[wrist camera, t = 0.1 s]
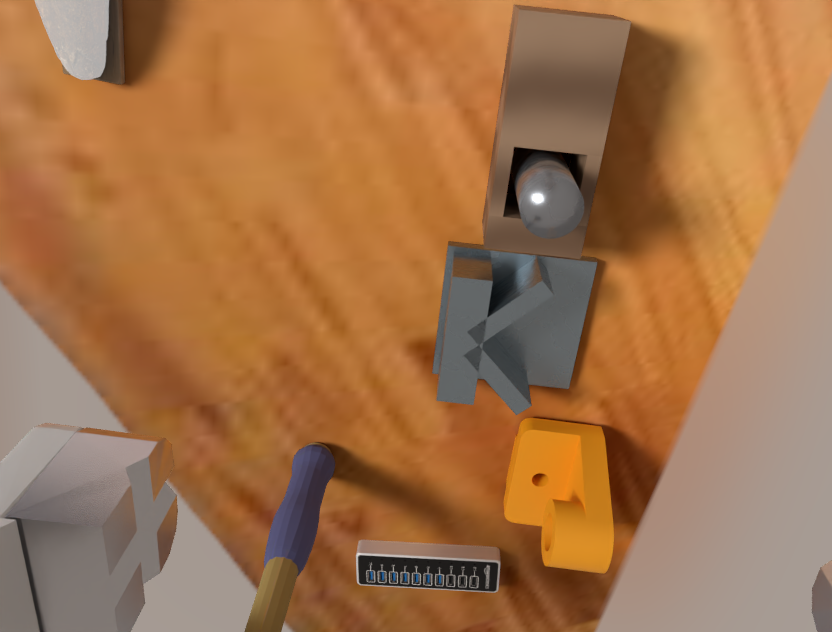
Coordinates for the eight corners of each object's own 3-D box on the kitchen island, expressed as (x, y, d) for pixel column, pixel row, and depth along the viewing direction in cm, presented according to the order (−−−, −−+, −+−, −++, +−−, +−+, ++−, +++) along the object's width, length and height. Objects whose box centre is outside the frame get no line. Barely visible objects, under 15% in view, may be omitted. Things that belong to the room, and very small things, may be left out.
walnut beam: (513, 4, 50) (519, 9, 44) (613, 15, 50) (631, 21, 44) (482, 221, 57) (484, 248, 52) (569, 231, 57) (580, 259, 51)
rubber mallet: (387, 435, 67) (334, 751, 40) (374, 495, 70) (317, 825, 43) (257, 408, 66) (115, 710, 40) (249, 470, 70) (114, 787, 43)
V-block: (448, 241, 58) (446, 269, 52) (595, 257, 58) (608, 287, 52) (432, 367, 63) (429, 405, 58) (567, 383, 63) (576, 422, 58)
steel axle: (514, 135, 54) (525, 174, 44) (567, 141, 54) (590, 181, 44) (506, 186, 56) (515, 235, 46) (557, 192, 56) (577, 242, 46)
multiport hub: (358, 536, 73) (355, 553, 71) (499, 544, 72) (500, 561, 70) (359, 568, 75) (356, 585, 73) (497, 576, 74) (498, 593, 72)
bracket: (520, 411, 65) (531, 499, 54) (599, 421, 65) (626, 512, 54) (501, 501, 70) (508, 600, 59) (575, 511, 70) (595, 611, 59)
